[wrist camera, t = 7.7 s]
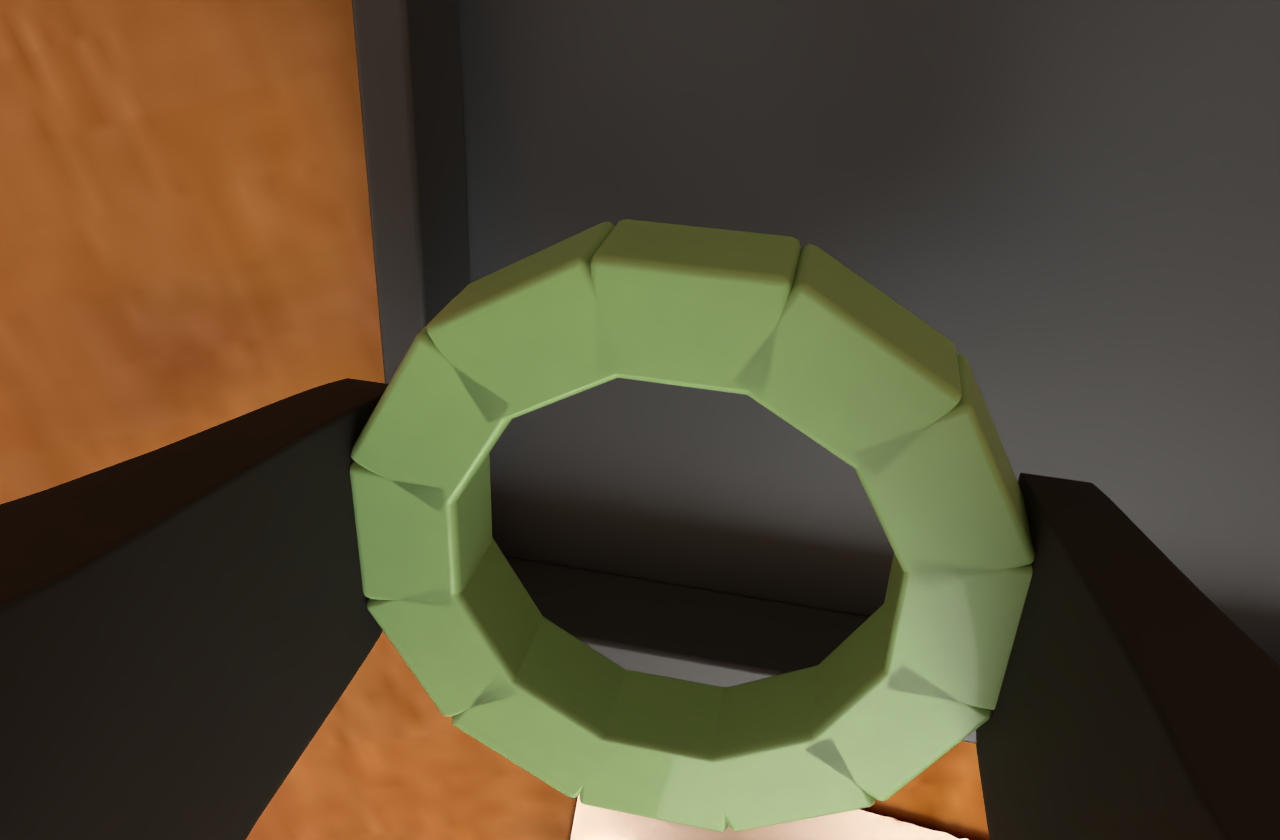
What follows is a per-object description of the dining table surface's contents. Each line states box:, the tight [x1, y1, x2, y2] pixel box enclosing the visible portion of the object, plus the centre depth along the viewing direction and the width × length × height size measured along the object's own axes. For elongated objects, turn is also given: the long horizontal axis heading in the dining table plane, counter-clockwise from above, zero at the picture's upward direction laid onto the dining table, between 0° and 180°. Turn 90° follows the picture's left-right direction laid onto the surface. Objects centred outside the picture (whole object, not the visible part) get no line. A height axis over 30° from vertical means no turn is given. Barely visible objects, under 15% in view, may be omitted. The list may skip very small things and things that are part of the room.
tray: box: [352, 0, 1280, 743], centre depth 10 cm, size 15×13×2 cm
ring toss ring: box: [350, 219, 1035, 832], centre depth 9 cm, size 6×6×1 cm
